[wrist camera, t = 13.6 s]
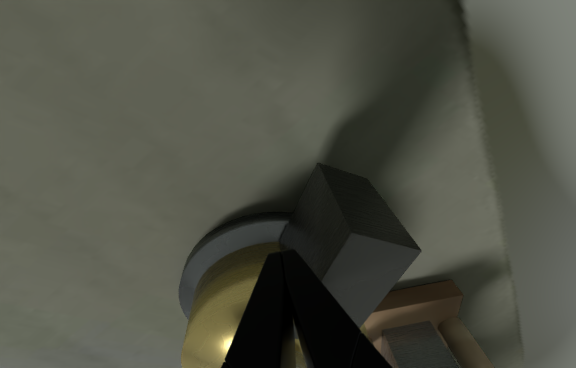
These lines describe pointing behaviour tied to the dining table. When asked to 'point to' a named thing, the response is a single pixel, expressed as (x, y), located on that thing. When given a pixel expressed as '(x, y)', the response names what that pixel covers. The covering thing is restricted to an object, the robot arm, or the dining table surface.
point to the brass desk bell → (226, 242)
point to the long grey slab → (415, 347)
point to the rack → (429, 306)
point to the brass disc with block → (316, 253)
